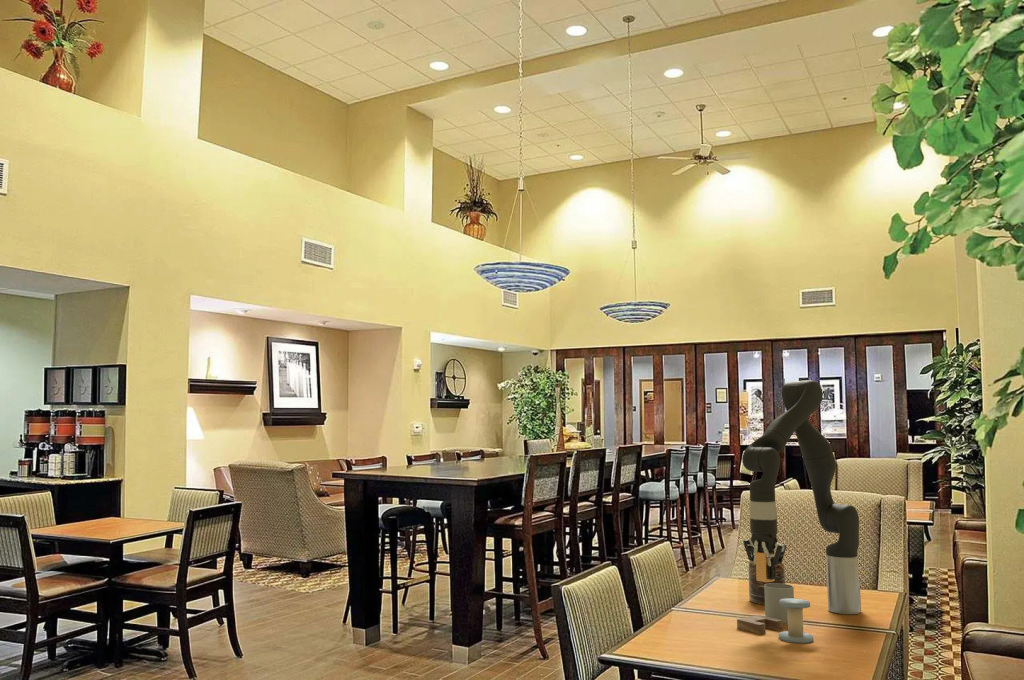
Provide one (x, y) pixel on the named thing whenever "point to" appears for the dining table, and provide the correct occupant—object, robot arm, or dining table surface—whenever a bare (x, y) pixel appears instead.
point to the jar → (762, 583)
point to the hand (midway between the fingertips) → (765, 577)
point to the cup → (777, 600)
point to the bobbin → (795, 621)
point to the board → (759, 624)
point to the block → (762, 567)
